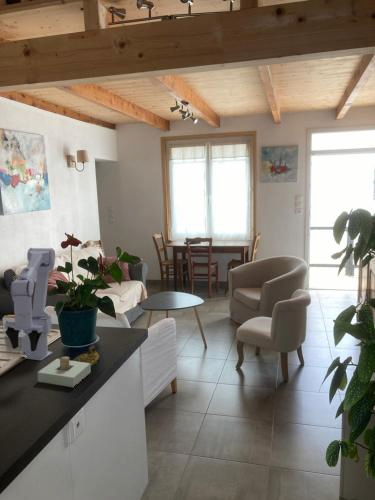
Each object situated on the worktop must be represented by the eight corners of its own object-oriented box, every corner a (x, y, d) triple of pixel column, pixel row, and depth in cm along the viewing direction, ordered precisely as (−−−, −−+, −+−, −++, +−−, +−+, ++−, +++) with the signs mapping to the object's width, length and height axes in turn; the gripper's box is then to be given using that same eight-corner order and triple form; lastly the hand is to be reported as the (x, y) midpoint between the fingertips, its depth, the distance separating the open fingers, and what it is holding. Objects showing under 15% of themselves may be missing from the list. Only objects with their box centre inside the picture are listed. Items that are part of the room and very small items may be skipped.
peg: (63, 374, 146) (62, 356, 145) (71, 375, 145) (70, 357, 144) (58, 378, 143) (58, 359, 142) (67, 379, 142) (66, 360, 141)
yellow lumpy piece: (88, 373, 150) (104, 357, 164) (90, 361, 149) (105, 346, 164) (66, 368, 151) (83, 352, 166) (66, 356, 151) (84, 342, 165)
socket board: (37, 381, 140) (37, 372, 139) (57, 367, 151) (57, 358, 151) (73, 387, 136) (73, 377, 136) (90, 372, 148) (90, 363, 147)
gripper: (-2, 314, 140) (-1, 350, 142) (34, 318, 137) (35, 355, 139) (11, 308, 147) (12, 343, 149) (46, 312, 143) (47, 348, 145)
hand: (24, 349), depth 144 cm, fingers open, 7 cm apart
